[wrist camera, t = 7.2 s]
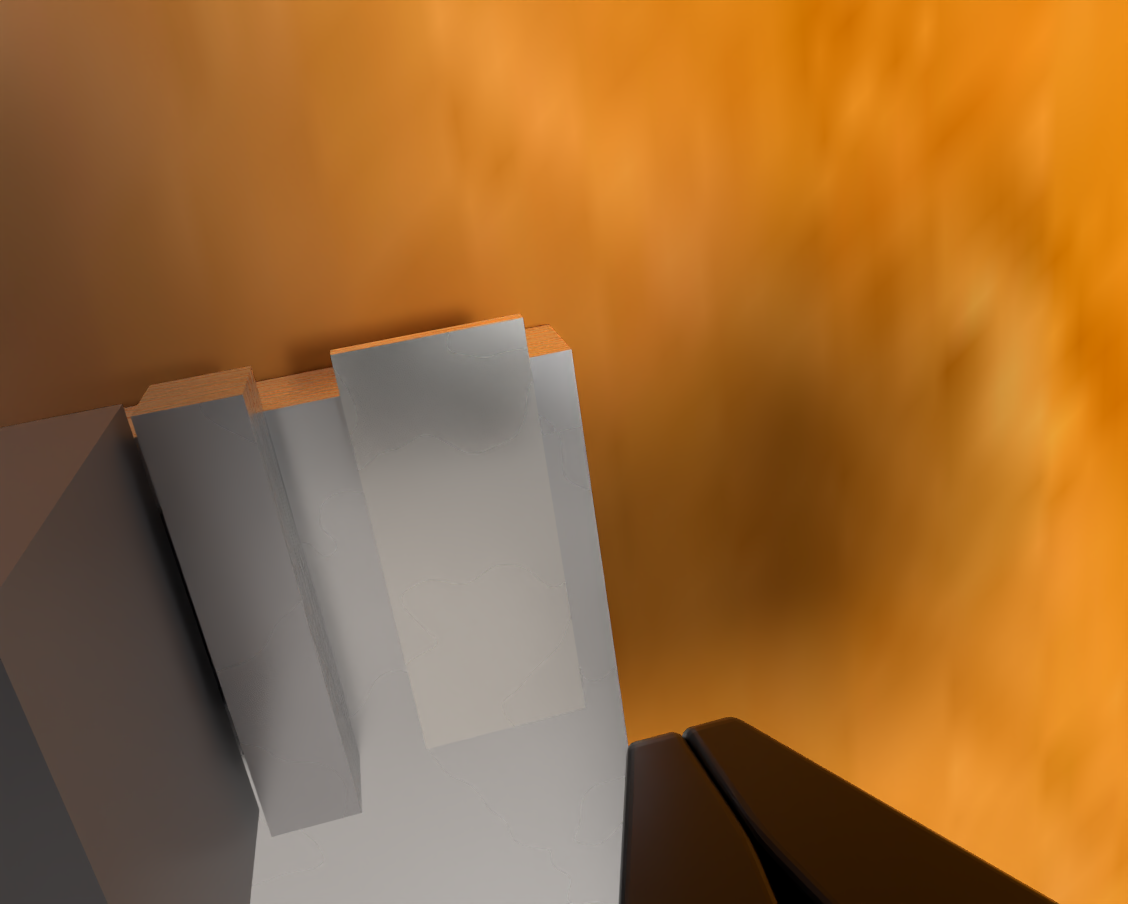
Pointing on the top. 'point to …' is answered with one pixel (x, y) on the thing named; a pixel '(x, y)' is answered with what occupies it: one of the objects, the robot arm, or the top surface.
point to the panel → (404, 616)
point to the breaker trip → (107, 688)
